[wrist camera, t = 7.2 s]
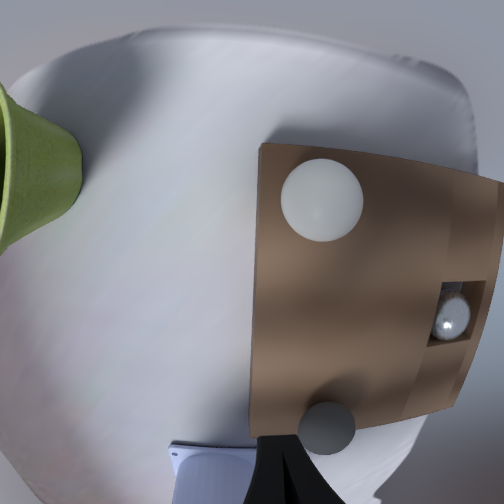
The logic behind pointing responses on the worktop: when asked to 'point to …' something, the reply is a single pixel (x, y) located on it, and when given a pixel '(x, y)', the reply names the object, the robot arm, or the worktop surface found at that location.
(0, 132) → the plant pot
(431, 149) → the worktop surface
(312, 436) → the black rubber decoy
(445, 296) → the steel ball
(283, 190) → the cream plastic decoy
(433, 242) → the board
